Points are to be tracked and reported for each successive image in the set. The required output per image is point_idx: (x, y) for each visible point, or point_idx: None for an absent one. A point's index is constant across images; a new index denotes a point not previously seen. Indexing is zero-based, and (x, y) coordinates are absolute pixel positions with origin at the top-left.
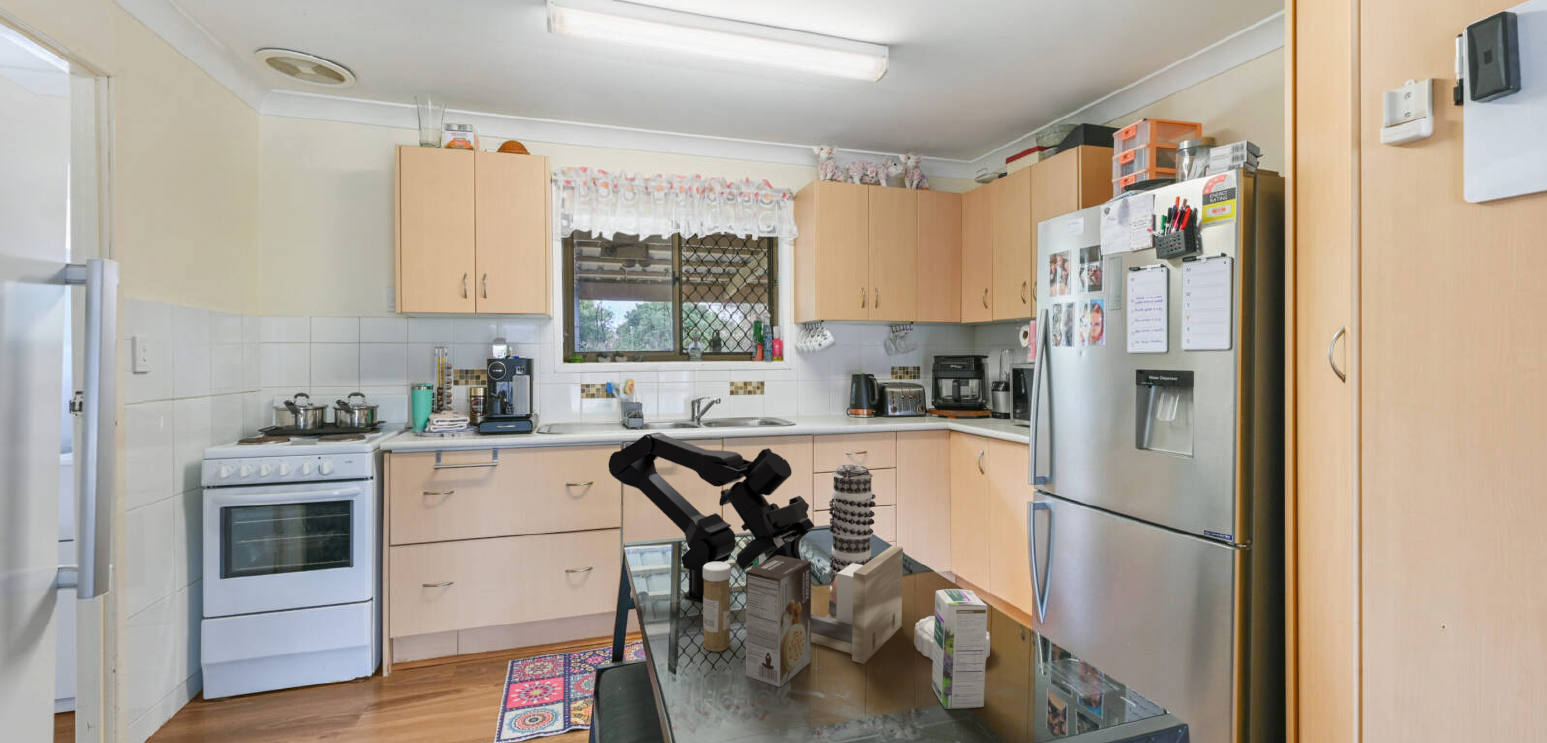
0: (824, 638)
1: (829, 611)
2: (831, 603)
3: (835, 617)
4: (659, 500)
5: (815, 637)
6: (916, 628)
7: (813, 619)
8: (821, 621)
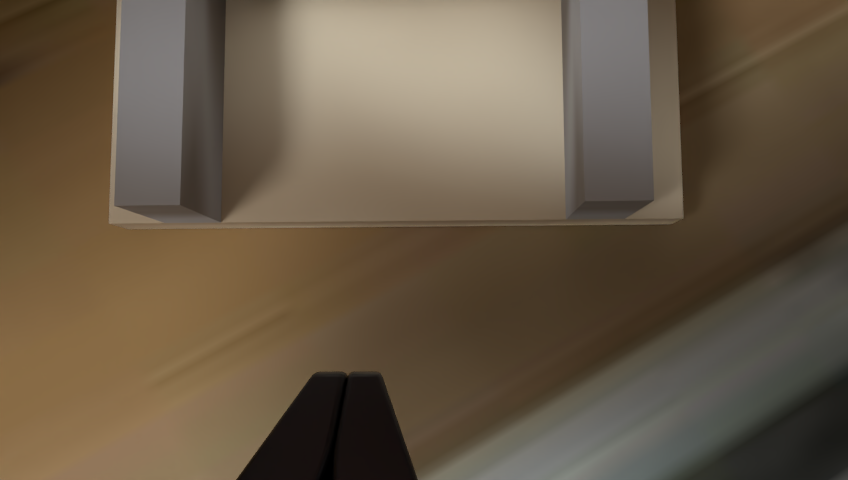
0: (654, 36)
1: (215, 215)
2: (191, 183)
3: (259, 143)
4: None
5: (677, 103)
6: None
7: (651, 125)
8: (648, 42)
